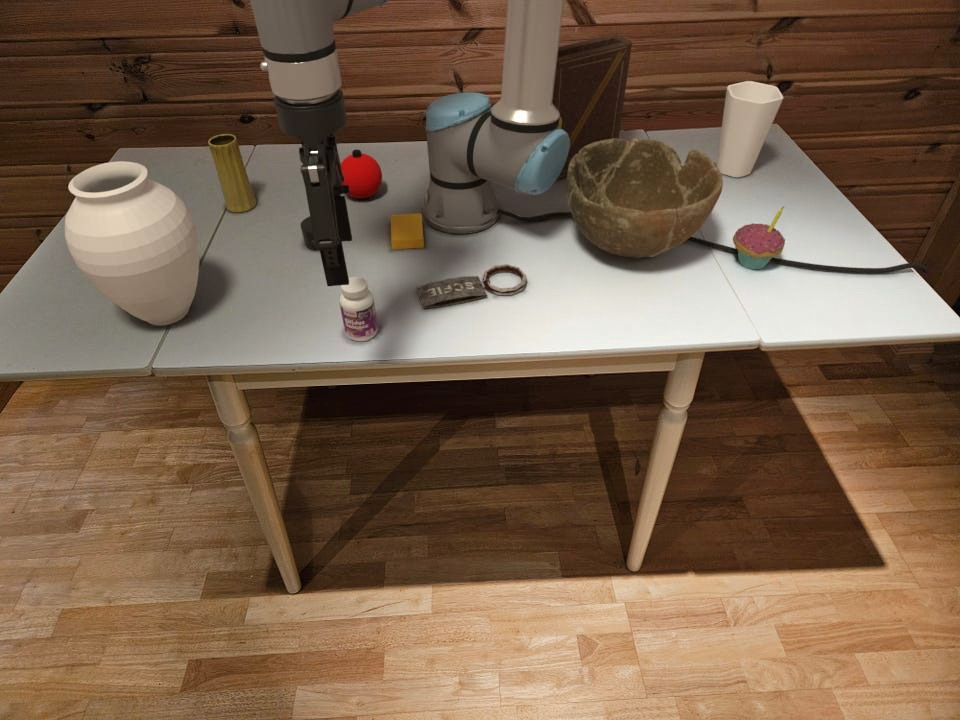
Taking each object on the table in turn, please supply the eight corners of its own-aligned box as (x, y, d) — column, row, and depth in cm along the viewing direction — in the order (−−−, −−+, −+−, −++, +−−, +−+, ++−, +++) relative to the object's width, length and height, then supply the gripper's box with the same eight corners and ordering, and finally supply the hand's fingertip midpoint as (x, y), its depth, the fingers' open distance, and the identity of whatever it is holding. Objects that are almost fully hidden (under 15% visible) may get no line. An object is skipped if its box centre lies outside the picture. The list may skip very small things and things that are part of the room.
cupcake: (776, 253, 121) (798, 195, 112) (775, 280, 115) (798, 221, 107) (728, 245, 123) (745, 187, 114) (725, 271, 117) (743, 212, 109)
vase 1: (98, 353, 103) (19, 214, 86) (124, 285, 116) (60, 153, 99) (214, 340, 105) (160, 202, 88) (227, 275, 118) (182, 143, 101)
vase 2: (260, 198, 137) (243, 133, 128) (250, 213, 133) (231, 147, 123) (232, 197, 138) (213, 132, 128) (221, 212, 134) (200, 146, 124)
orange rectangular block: (422, 222, 130) (421, 213, 129) (424, 247, 124) (423, 238, 122) (392, 224, 130) (390, 215, 128) (392, 249, 123) (391, 240, 122)
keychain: (415, 286, 115) (414, 277, 113) (518, 267, 119) (518, 258, 117) (424, 313, 109) (423, 304, 108) (532, 293, 113) (533, 283, 112)
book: (598, 146, 152) (612, 32, 135) (622, 161, 147) (639, 44, 130) (519, 171, 145) (522, 52, 127) (541, 187, 139) (547, 66, 122)
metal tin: (339, 231, 128) (335, 213, 125) (337, 249, 123) (333, 231, 121) (306, 233, 128) (302, 215, 125) (303, 251, 123) (298, 233, 120)
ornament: (339, 188, 140) (331, 143, 133) (380, 182, 142) (374, 137, 135) (344, 209, 134) (336, 164, 127) (388, 202, 136) (382, 157, 129)
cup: (700, 172, 143) (719, 94, 131) (717, 154, 149) (736, 77, 137) (751, 186, 139) (775, 106, 127) (766, 167, 144) (790, 89, 133)
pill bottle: (346, 344, 104) (336, 297, 97) (344, 323, 108) (335, 276, 101) (380, 340, 105) (372, 292, 98) (377, 319, 109) (370, 271, 102)
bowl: (601, 191, 138) (610, 122, 127) (725, 231, 126) (746, 158, 116) (531, 253, 122) (535, 180, 111) (666, 305, 110) (685, 229, 100)
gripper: (284, 57, 79) (318, 218, 95) (258, 138, 63) (304, 315, 79) (346, 54, 80) (370, 215, 95) (336, 133, 64) (366, 311, 79)
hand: (340, 260), depth 87 cm, fingers open, 9 cm apart
